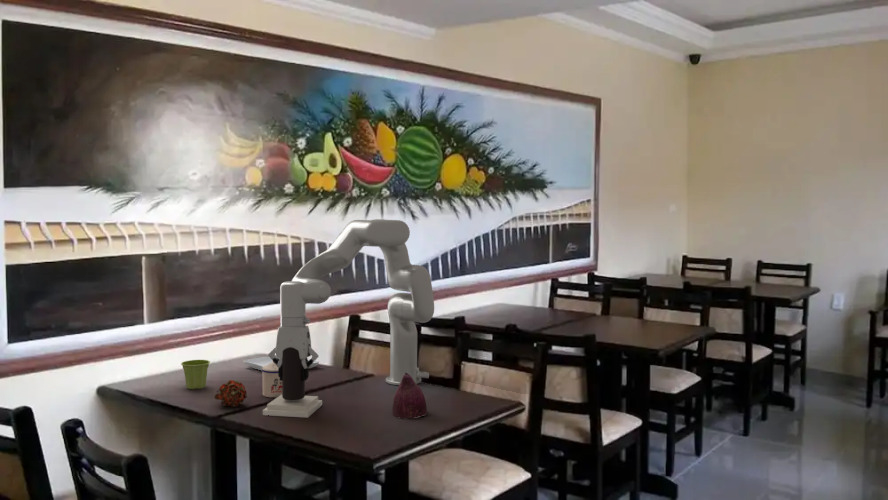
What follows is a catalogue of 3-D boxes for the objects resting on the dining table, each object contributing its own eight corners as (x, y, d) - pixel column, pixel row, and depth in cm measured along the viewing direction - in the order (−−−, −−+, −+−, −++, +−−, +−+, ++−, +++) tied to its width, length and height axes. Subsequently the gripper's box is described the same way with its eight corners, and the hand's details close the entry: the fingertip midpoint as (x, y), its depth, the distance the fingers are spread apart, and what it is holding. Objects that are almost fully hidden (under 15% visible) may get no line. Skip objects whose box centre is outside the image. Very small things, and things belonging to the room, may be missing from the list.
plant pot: (175, 389, 260) (175, 363, 259) (194, 383, 268) (193, 358, 268) (197, 392, 256) (197, 366, 255) (216, 385, 265) (215, 360, 264)
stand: (322, 405, 241) (322, 395, 241) (307, 417, 227) (307, 407, 227) (279, 402, 243) (279, 393, 243) (262, 415, 229) (262, 405, 229)
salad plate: (321, 369, 293) (321, 360, 292) (273, 378, 277) (273, 369, 277) (288, 361, 307) (288, 352, 307) (241, 369, 292) (241, 360, 292)
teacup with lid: (271, 399, 247) (271, 363, 246) (256, 394, 254) (256, 359, 253) (302, 393, 256) (302, 358, 255) (287, 388, 262) (287, 354, 261)
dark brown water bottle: (286, 394, 239) (285, 330, 237) (307, 395, 238) (307, 331, 237) (279, 400, 232) (278, 334, 231) (301, 401, 232) (300, 335, 230)
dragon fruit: (240, 415, 235) (221, 412, 244) (258, 394, 240) (239, 393, 249) (223, 395, 232) (204, 393, 240) (242, 375, 237) (223, 374, 245)
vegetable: (414, 431, 226) (412, 386, 221) (385, 420, 231) (383, 377, 226) (433, 414, 234) (433, 371, 229) (406, 404, 240) (404, 362, 234)
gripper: (324, 320, 236) (324, 378, 237) (270, 319, 239) (271, 376, 240) (316, 324, 229) (317, 384, 230) (261, 323, 231) (261, 381, 232)
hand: (293, 379), depth 235 cm, fingers closed on dark brown water bottle, 6 cm apart
